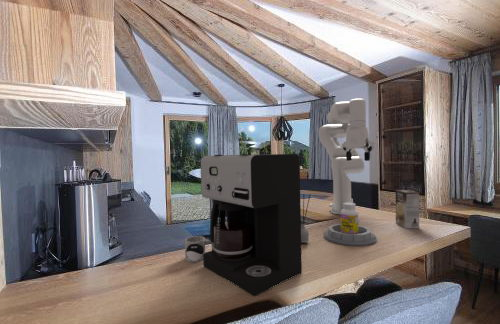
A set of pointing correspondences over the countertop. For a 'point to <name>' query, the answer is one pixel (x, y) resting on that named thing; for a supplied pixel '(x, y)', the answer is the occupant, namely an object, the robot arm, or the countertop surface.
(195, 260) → the mug
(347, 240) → the round tray
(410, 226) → the coffee box
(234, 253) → the coffee maker
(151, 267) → the countertop surface
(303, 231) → the reed diffuser
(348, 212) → the supplement bottle
